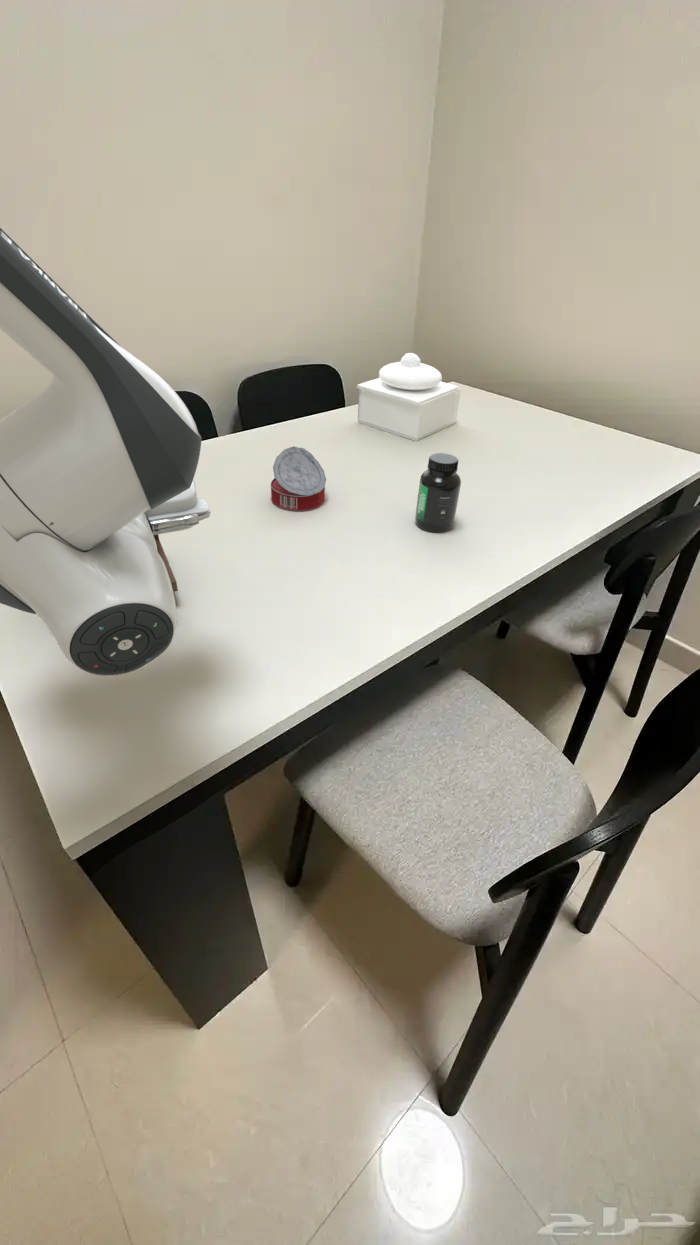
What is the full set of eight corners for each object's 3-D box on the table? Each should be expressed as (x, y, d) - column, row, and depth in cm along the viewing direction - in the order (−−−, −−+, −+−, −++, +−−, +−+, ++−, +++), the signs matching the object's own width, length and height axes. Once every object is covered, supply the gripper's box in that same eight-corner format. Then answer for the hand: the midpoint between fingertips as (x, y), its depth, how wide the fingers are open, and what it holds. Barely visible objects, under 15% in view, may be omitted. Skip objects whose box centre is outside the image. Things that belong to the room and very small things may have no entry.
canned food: (315, 511, 113) (341, 469, 109) (308, 531, 105) (335, 486, 100) (265, 481, 111) (289, 436, 106) (252, 499, 103) (278, 451, 98)
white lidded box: (455, 422, 144) (466, 354, 134) (415, 441, 133) (423, 368, 123) (398, 406, 153) (404, 340, 143) (355, 422, 141) (359, 352, 131)
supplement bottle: (415, 532, 100) (424, 465, 92) (413, 513, 105) (422, 449, 98) (455, 534, 99) (467, 468, 92) (451, 515, 105) (462, 451, 98)
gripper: (212, 488, 53) (180, 436, 63) (-45, 524, 46) (-36, 459, 56) (218, 547, 57) (187, 490, 67) (-18, 590, 50) (-14, 518, 59)
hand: (84, 476), depth 61 cm, fingers closed on coffee box, 8 cm apart
